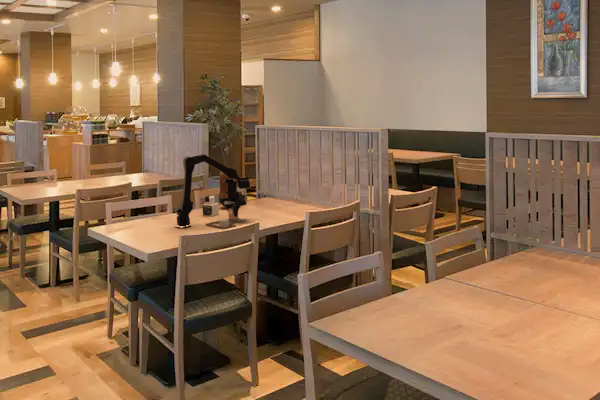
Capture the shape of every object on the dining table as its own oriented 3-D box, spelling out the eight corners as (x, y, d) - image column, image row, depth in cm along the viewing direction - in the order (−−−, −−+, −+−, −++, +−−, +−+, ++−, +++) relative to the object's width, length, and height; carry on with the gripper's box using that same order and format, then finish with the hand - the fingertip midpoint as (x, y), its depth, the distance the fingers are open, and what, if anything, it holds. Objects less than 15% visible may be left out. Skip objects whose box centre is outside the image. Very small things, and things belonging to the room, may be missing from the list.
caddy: (223, 229, 330) (223, 227, 330) (205, 225, 341) (205, 223, 341) (235, 226, 336) (235, 224, 336) (217, 222, 347) (217, 221, 347)
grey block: (224, 228, 333) (224, 221, 333) (219, 227, 336) (218, 220, 335) (229, 226, 337) (229, 219, 336) (224, 225, 339) (223, 219, 338)
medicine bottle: (202, 215, 369) (201, 196, 367) (209, 213, 375) (208, 194, 373) (212, 216, 366) (211, 197, 364) (218, 214, 372) (217, 195, 370)
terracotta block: (238, 218, 350) (238, 208, 349) (233, 219, 347) (232, 209, 346) (234, 217, 353) (233, 207, 352) (228, 218, 350) (228, 208, 349)
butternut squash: (244, 207, 392) (242, 169, 388) (228, 210, 383) (226, 172, 378) (230, 205, 402) (228, 168, 397) (214, 208, 392) (212, 170, 387)
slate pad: (232, 223, 343) (232, 222, 343) (221, 221, 350) (221, 220, 350) (245, 220, 350) (245, 219, 350) (235, 218, 357) (234, 217, 357)
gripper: (253, 189, 346) (254, 215, 349) (232, 186, 359) (234, 212, 362) (238, 192, 338) (239, 218, 341) (217, 189, 351) (219, 215, 354)
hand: (233, 216), depth 350 cm, fingers closed on terracotta block, 4 cm apart
